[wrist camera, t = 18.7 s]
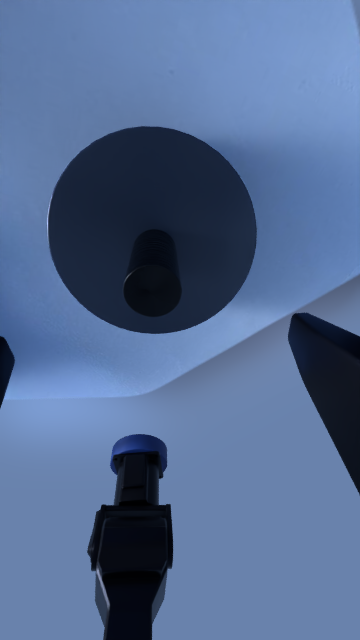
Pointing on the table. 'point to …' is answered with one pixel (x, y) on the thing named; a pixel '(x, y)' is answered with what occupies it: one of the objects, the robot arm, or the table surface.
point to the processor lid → (151, 230)
